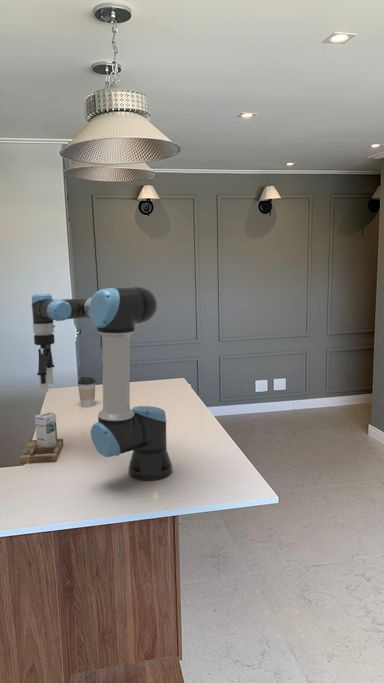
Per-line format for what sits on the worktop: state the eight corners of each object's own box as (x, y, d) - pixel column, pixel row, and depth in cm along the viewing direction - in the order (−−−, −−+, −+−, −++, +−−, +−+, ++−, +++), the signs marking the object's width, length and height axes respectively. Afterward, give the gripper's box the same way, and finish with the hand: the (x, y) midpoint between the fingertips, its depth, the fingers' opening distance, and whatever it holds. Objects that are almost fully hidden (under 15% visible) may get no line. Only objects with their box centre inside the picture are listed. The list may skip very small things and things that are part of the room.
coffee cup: (100, 404, 261) (98, 377, 258) (87, 409, 253) (86, 380, 251) (87, 402, 265) (86, 375, 263) (75, 406, 258) (73, 378, 256)
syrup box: (47, 453, 192) (45, 417, 190) (36, 450, 195) (34, 415, 193) (58, 448, 196) (56, 413, 194) (47, 446, 200) (45, 411, 198)
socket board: (56, 461, 183) (55, 454, 182) (20, 463, 181) (19, 456, 181) (63, 444, 201) (63, 437, 201) (30, 446, 200) (30, 439, 199)
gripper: (49, 337, 178) (52, 394, 181) (58, 330, 203) (61, 380, 205) (27, 338, 177) (31, 395, 180) (39, 330, 202) (42, 381, 205)
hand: (47, 387), depth 193 cm, fingers open, 13 cm apart
